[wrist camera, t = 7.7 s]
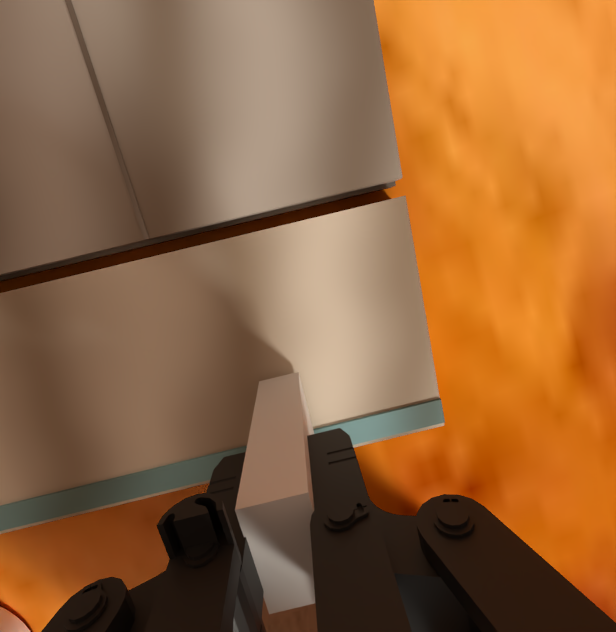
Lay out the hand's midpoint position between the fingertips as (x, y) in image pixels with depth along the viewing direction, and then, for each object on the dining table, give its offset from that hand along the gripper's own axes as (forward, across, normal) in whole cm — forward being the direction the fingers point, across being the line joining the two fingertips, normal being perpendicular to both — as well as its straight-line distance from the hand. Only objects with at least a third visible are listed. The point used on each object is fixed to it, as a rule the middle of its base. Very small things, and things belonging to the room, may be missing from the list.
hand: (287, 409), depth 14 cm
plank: (+2, -9, +2) cm, 10 cm away
